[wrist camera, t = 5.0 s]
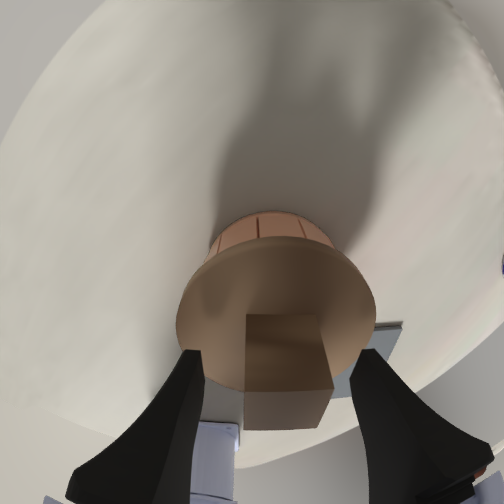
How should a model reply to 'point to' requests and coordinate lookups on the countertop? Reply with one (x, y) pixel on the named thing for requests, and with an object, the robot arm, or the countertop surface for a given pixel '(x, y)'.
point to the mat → (380, 340)
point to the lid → (277, 326)
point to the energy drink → (503, 267)
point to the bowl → (267, 230)
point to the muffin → (480, 473)
